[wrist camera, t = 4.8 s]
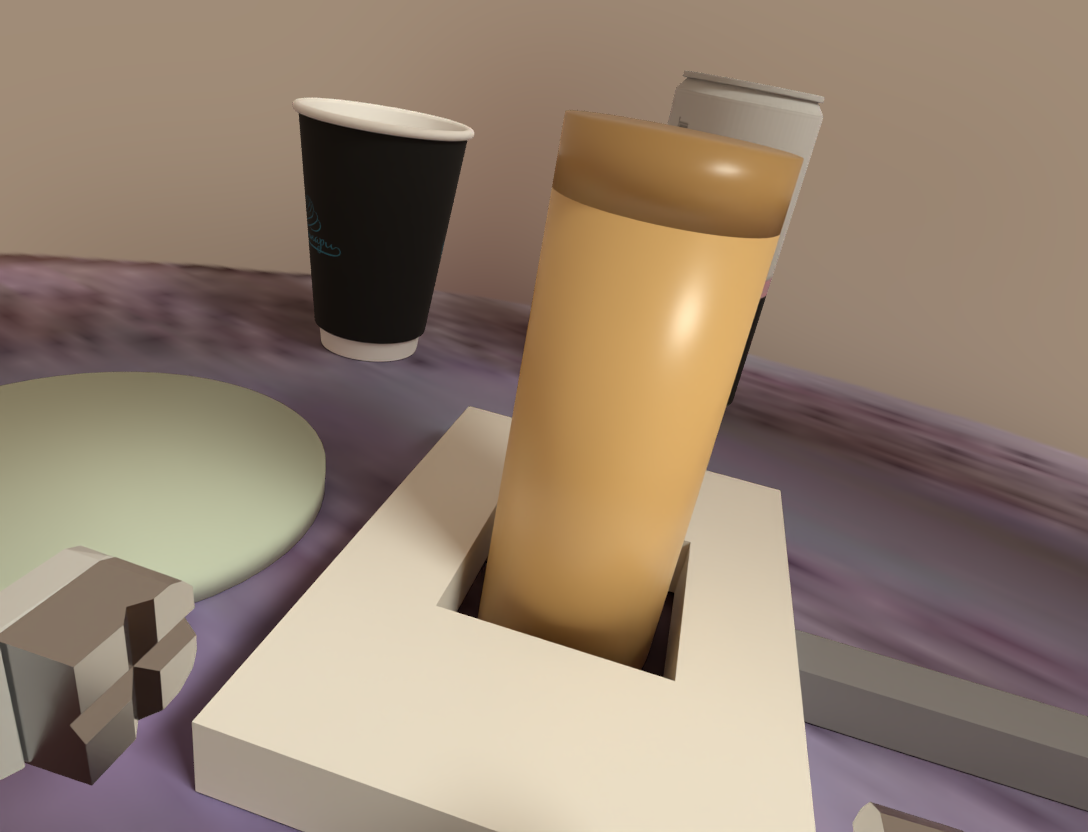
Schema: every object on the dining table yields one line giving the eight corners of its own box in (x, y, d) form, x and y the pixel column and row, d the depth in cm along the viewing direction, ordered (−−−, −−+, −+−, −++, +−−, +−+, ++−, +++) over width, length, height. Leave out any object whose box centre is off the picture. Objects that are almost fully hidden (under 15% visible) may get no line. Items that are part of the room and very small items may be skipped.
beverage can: (607, 356, 41) (673, 69, 35) (720, 378, 42) (806, 95, 35) (609, 404, 36) (689, 69, 29) (741, 429, 36) (849, 100, 29)
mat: (340, 607, 20) (342, 578, 20) (-294, 662, 15) (-311, 627, 15) (313, 397, 31) (314, 375, 30) (-67, 392, 26) (-72, 366, 26)
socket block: (1282, 1198, 12) (1363, 1142, 11) (195, 791, 15) (191, 721, 14) (986, 598, 26) (1011, 553, 25) (462, 450, 29) (468, 406, 28)
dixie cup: (251, 339, 35) (250, 93, 30) (353, 305, 42) (366, 99, 37) (389, 390, 33) (412, 132, 28) (474, 345, 39) (504, 131, 35)
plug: (637, 718, 18) (815, 169, 13) (452, 658, 19) (539, 112, 13) (657, 598, 23) (795, 150, 17) (506, 552, 24) (589, 108, 18)
